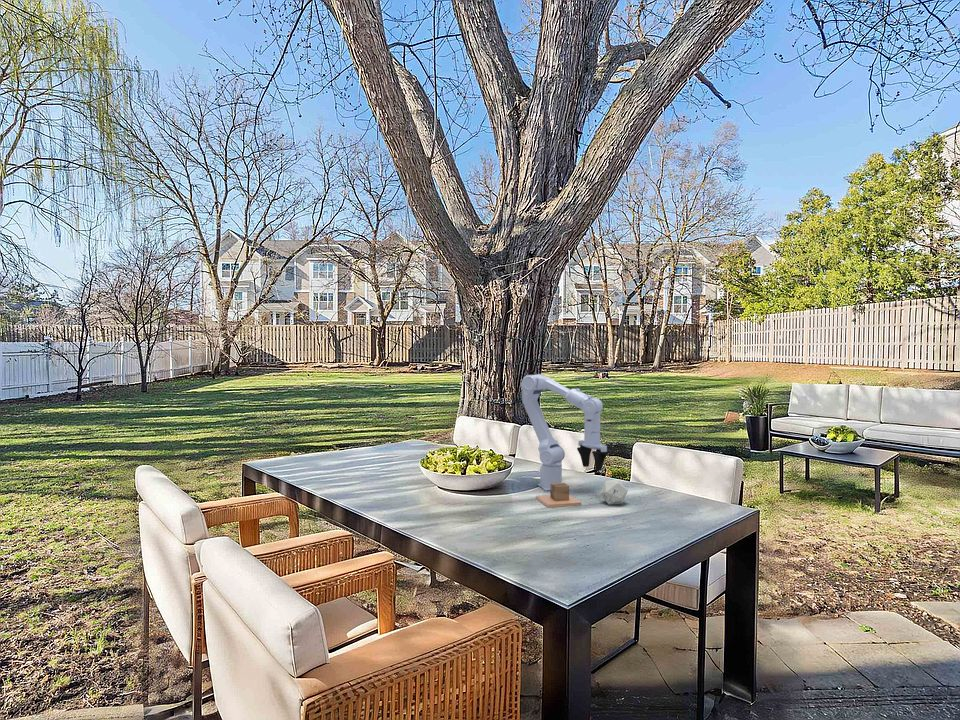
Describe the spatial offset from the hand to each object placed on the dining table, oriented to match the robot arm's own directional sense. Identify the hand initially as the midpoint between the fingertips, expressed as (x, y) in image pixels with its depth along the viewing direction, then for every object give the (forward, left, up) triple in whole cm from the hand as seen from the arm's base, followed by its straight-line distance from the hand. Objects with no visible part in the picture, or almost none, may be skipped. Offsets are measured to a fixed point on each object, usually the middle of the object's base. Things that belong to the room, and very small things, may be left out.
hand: (592, 468), depth 212 cm
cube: (+7, -15, -8) cm, 19 cm away
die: (+13, +2, -10) cm, 16 cm away
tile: (+7, -16, -9) cm, 20 cm away
